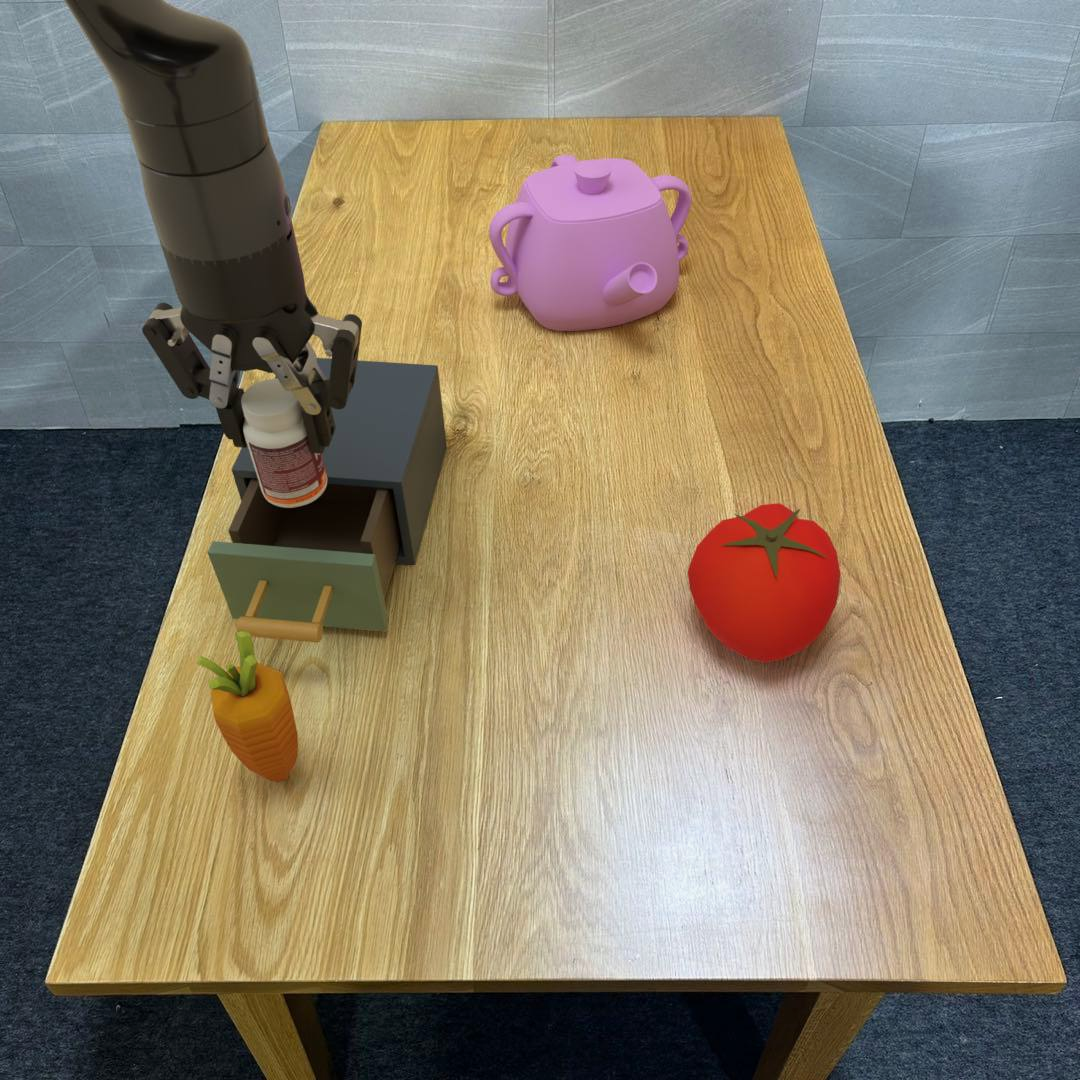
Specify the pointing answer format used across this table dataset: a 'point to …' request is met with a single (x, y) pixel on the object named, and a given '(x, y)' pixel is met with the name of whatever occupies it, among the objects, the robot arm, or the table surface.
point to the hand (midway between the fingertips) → (283, 441)
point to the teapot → (591, 243)
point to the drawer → (309, 562)
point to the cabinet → (384, 442)
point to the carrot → (254, 713)
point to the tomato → (765, 582)
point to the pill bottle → (281, 446)
